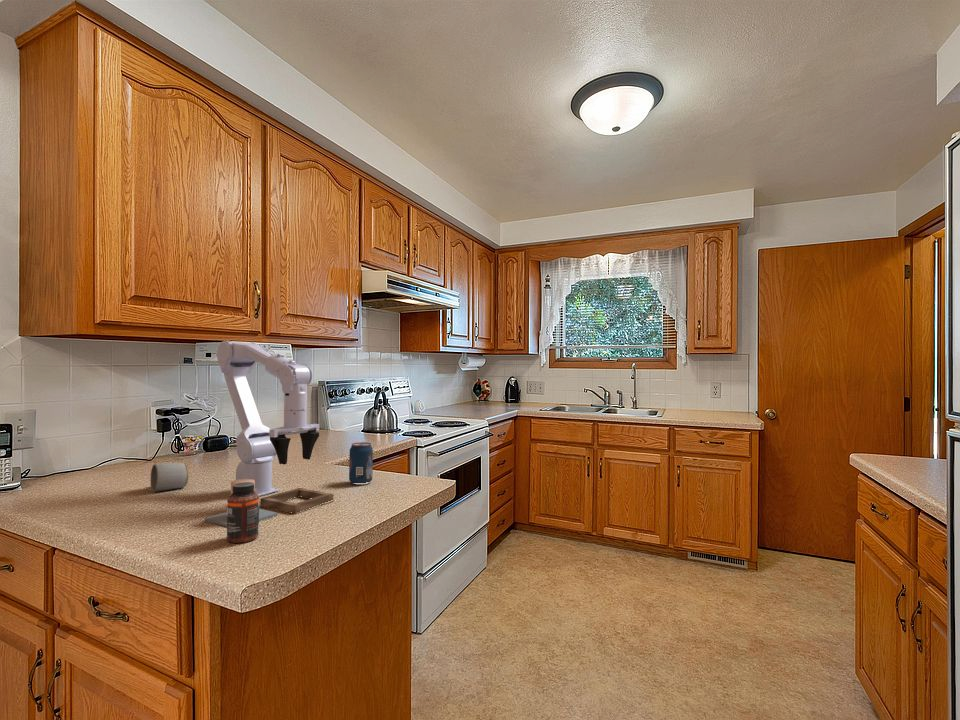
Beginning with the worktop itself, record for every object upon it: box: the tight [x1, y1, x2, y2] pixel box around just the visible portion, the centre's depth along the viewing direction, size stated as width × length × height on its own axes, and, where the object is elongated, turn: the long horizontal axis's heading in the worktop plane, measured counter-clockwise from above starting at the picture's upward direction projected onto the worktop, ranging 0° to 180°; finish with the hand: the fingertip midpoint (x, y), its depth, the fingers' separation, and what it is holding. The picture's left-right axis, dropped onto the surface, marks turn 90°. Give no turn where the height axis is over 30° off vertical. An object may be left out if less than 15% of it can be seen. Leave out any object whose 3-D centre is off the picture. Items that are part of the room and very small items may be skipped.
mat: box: [204, 508, 279, 528], centre depth 113 cm, size 11×11×1 cm
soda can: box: [348, 441, 374, 483], centre depth 147 cm, size 7×7×12 cm
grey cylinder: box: [149, 462, 190, 493], centre depth 138 cm, size 11×8×8 cm
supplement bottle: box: [226, 482, 260, 544], centre depth 99 cm, size 6×6×11 cm
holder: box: [259, 487, 334, 514], centre depth 124 cm, size 12×12×2 cm
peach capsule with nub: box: [230, 479, 257, 495], centre depth 112 cm, size 6×5×8 cm
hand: (295, 461), depth 127 cm, fingers open, 7 cm apart
